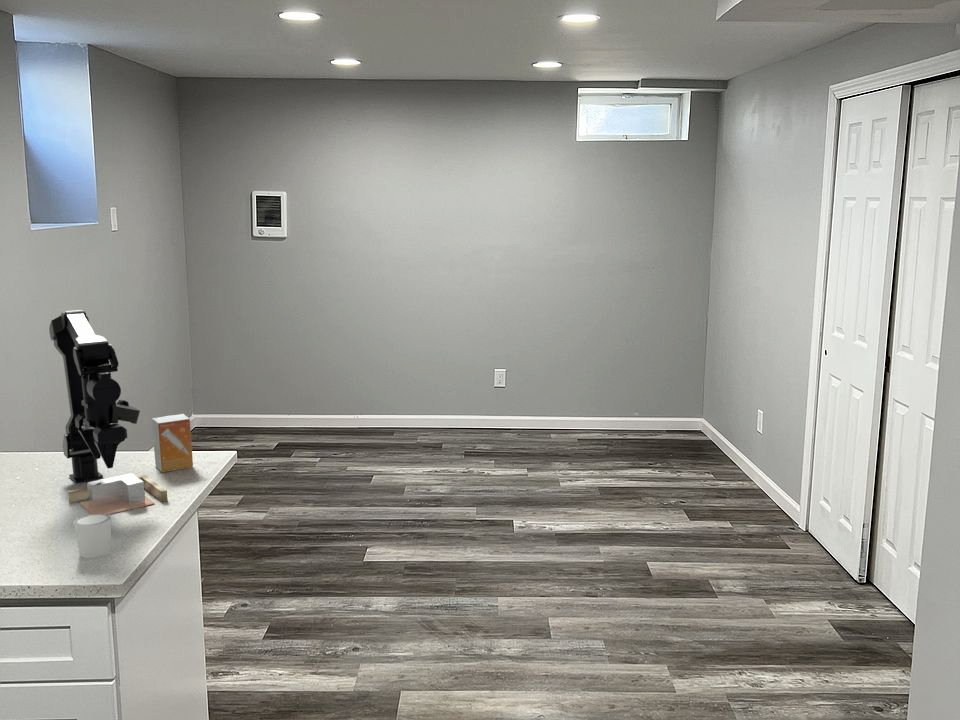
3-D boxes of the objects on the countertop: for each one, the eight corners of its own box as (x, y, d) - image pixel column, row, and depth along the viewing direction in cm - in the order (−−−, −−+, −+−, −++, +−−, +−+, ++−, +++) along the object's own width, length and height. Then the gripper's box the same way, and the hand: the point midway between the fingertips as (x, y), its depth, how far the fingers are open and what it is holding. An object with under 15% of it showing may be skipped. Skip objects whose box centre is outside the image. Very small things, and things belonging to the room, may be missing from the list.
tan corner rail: (69, 501, 207) (67, 491, 207) (146, 484, 218) (145, 475, 217) (87, 519, 196) (86, 508, 195) (167, 500, 207) (166, 490, 206)
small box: (161, 473, 227) (157, 423, 224) (155, 466, 232) (151, 417, 229) (194, 467, 231) (190, 418, 229) (187, 461, 236) (183, 413, 234)
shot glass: (83, 546, 181) (80, 513, 180) (118, 545, 182) (115, 512, 180) (71, 560, 175) (67, 526, 173) (107, 559, 175) (104, 524, 174)
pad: (80, 504, 205) (80, 503, 205) (138, 491, 213) (138, 490, 213) (94, 517, 197) (94, 516, 197) (154, 504, 205) (154, 503, 205)
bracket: (133, 493, 211) (131, 473, 210) (145, 502, 205) (143, 481, 204) (89, 503, 205) (87, 482, 204) (99, 513, 199) (97, 491, 198)
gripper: (148, 397, 198) (153, 465, 201) (121, 384, 213) (127, 447, 216) (95, 406, 192) (102, 476, 195) (71, 391, 206) (78, 456, 209)
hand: (103, 463), depth 204 cm, fingers open, 9 cm apart
